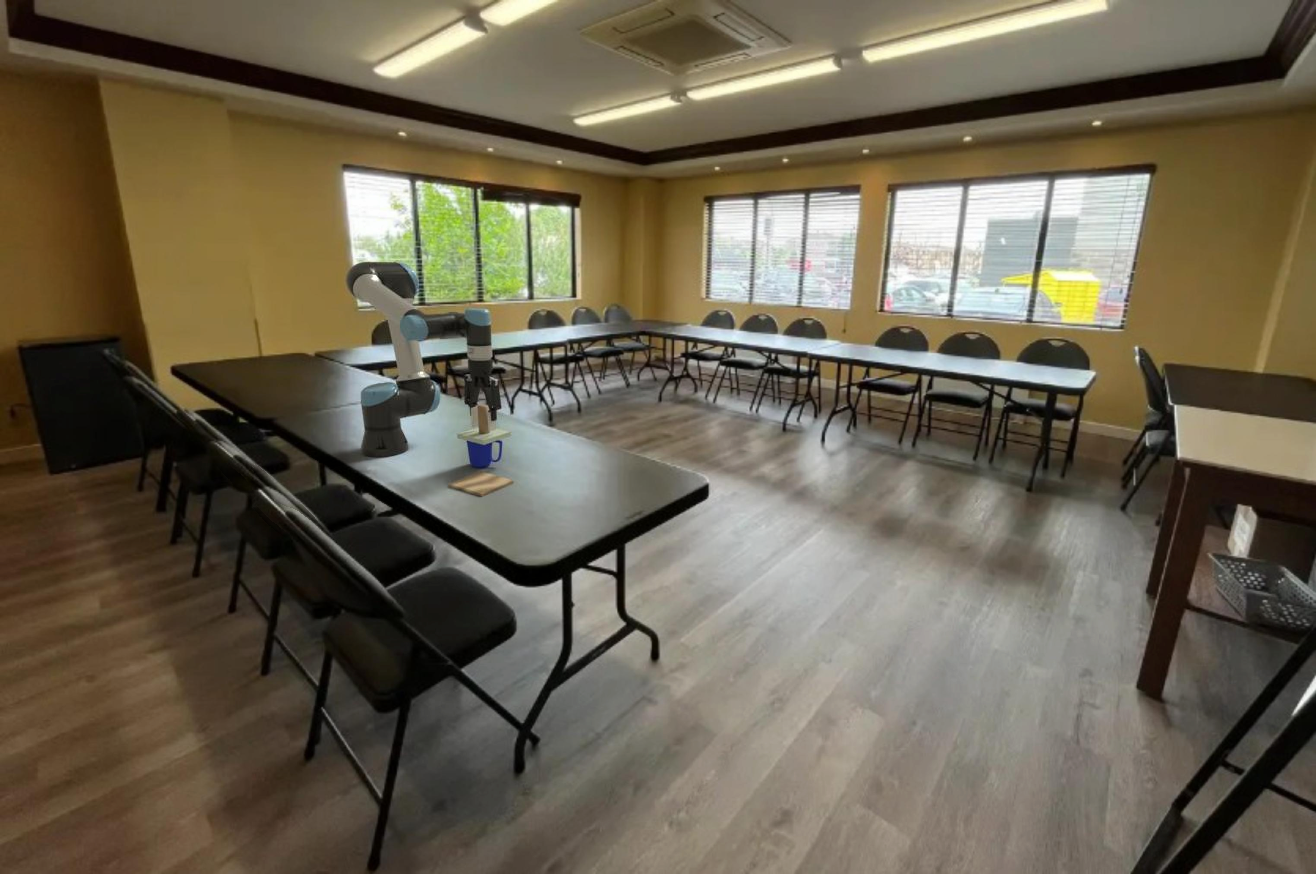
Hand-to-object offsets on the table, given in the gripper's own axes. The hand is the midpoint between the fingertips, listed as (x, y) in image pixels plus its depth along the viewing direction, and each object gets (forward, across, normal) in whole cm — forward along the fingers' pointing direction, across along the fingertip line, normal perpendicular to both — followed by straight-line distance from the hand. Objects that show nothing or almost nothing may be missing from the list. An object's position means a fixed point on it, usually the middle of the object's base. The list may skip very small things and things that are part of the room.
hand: (484, 428), depth 188 cm
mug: (+13, 0, 0) cm, 13 cm away
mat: (+13, +12, -13) cm, 22 cm away
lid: (+3, 0, 0) cm, 3 cm away
